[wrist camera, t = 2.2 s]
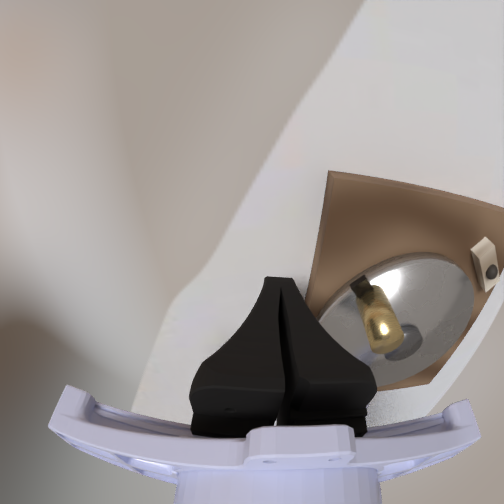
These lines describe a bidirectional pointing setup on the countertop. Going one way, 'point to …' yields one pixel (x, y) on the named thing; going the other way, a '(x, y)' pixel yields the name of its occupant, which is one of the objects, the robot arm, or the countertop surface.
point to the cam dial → (400, 313)
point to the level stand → (403, 240)
